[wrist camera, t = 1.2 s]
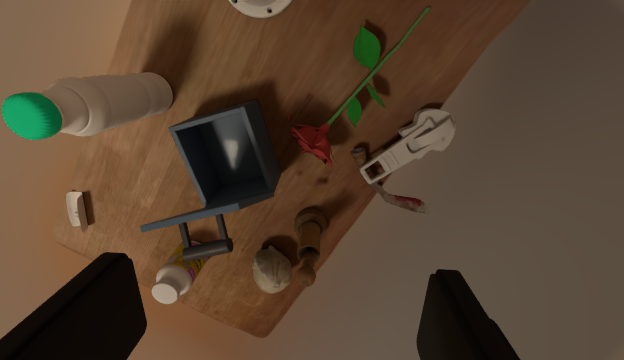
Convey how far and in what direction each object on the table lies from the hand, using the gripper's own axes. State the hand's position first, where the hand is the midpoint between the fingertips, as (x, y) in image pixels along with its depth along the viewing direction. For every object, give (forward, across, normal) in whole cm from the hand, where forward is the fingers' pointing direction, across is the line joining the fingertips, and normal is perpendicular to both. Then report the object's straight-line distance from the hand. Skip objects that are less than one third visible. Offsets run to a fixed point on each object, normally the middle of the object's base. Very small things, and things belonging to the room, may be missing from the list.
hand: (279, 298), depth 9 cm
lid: (+30, +14, +12) cm, 35 cm away
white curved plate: (+45, +47, +23) cm, 69 cm away
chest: (+46, +15, +8) cm, 49 cm away
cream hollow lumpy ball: (+47, +8, +33) cm, 58 cm away
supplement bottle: (+47, +26, +32) cm, 63 cm away
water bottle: (+46, +29, -1) cm, 55 cm away
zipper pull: (+46, -16, +6) cm, 49 cm away
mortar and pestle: (+47, +1, +24) cm, 52 cm away
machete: (+46, -16, +13) cm, 50 cm away
